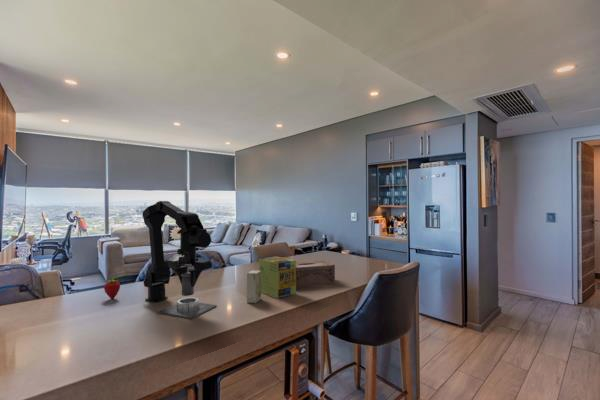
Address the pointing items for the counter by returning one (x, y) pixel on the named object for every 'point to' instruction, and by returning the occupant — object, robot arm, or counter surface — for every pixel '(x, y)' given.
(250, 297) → the skincare box
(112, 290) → the strawberry
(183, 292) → the plug
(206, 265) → the robot arm
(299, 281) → the tissue box cover
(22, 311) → the counter surface
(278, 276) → the protein box
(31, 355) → the counter surface
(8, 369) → the counter surface
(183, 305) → the barrel stand
